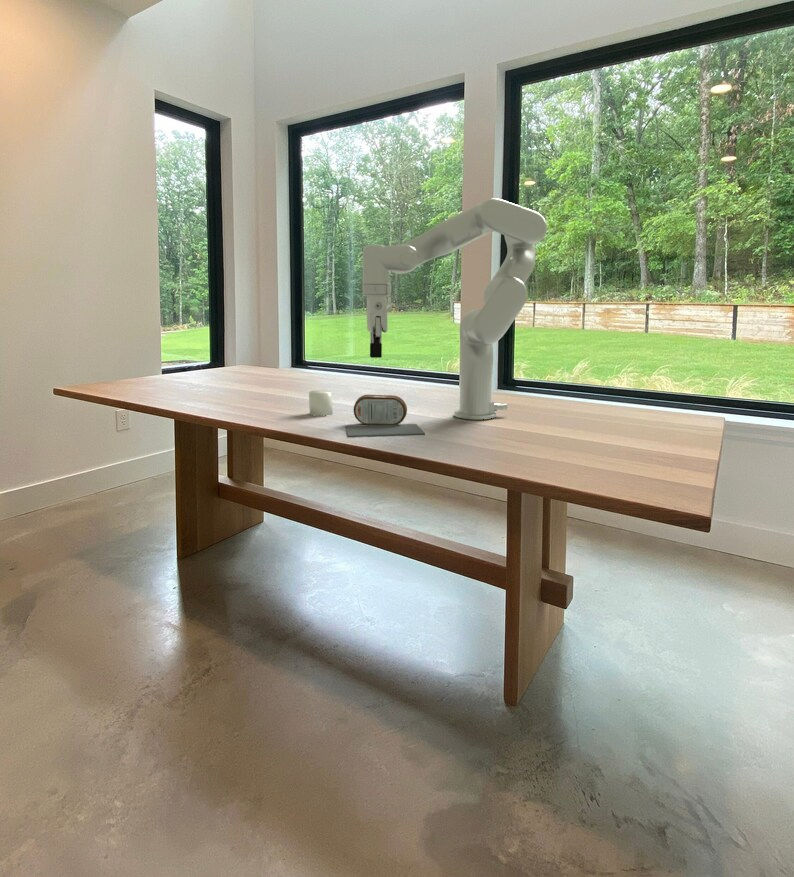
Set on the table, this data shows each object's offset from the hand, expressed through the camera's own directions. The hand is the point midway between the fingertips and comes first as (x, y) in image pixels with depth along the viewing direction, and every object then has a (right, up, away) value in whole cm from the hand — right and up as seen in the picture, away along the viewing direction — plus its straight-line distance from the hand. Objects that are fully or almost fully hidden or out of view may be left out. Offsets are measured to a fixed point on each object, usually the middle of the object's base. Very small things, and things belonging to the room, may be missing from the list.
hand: (375, 357), depth 169 cm
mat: (+3, -21, -11) cm, 24 cm away
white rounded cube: (-17, -16, +12) cm, 27 cm away
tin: (+1, -20, -2) cm, 20 cm away
